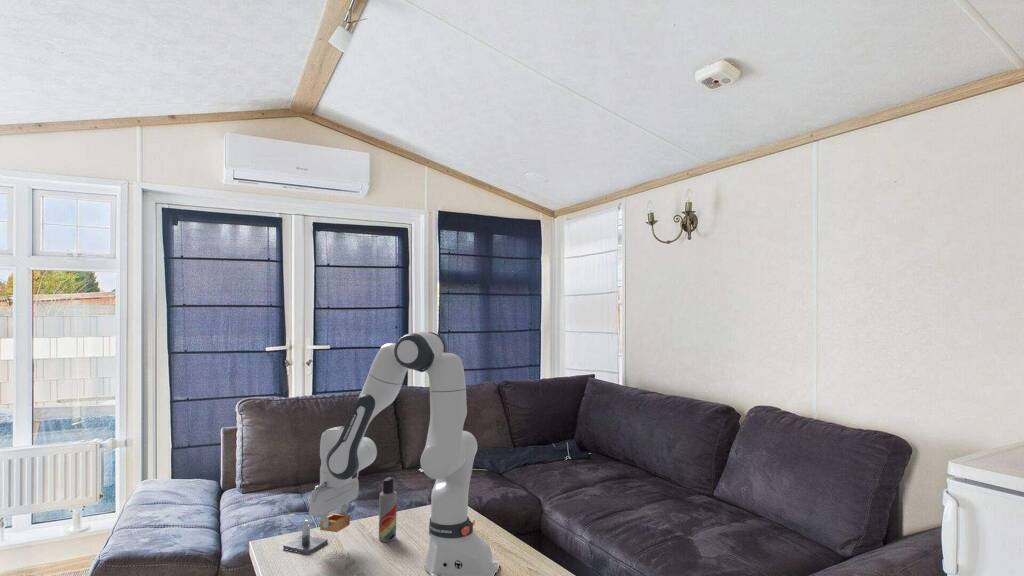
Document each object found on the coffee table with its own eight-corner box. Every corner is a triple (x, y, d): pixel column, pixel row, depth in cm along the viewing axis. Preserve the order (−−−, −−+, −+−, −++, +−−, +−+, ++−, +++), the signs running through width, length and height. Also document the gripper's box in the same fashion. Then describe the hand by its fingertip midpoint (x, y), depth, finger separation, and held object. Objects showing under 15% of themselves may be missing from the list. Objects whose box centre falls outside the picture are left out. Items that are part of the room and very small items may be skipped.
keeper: (327, 543, 179) (328, 517, 179) (308, 554, 170) (309, 527, 170) (303, 538, 182) (303, 513, 182) (283, 549, 174) (283, 522, 174)
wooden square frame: (349, 524, 176) (349, 515, 176) (336, 532, 170) (336, 522, 170) (333, 522, 178) (333, 513, 178) (320, 529, 172) (320, 520, 172)
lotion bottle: (391, 542, 180) (392, 481, 180) (375, 541, 181) (377, 480, 182) (398, 535, 185) (399, 476, 186) (383, 534, 186) (384, 475, 187)
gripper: (320, 488, 164) (321, 535, 163) (361, 470, 183) (362, 512, 182) (303, 487, 166) (304, 533, 165) (346, 468, 185) (346, 510, 184)
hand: (334, 521), depth 174 cm, fingers closed on wooden square frame, 6 cm apart
